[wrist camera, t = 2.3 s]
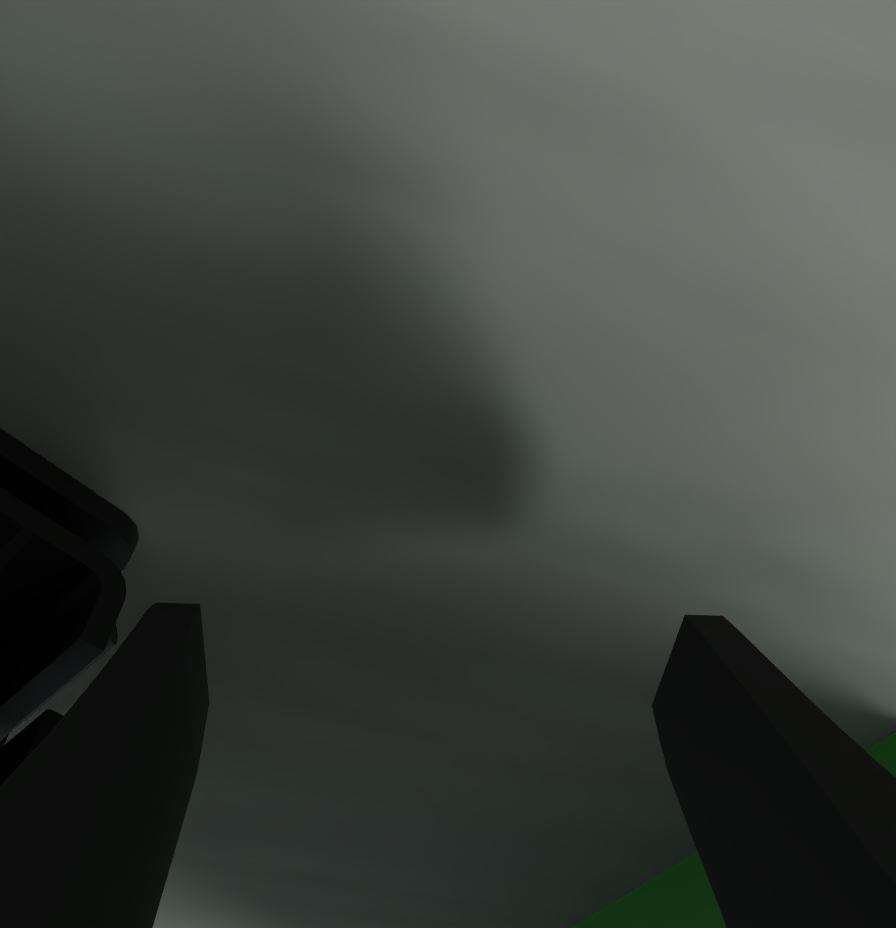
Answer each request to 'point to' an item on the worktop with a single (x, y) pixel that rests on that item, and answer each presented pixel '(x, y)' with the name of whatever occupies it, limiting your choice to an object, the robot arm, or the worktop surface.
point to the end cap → (52, 589)
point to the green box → (688, 885)
